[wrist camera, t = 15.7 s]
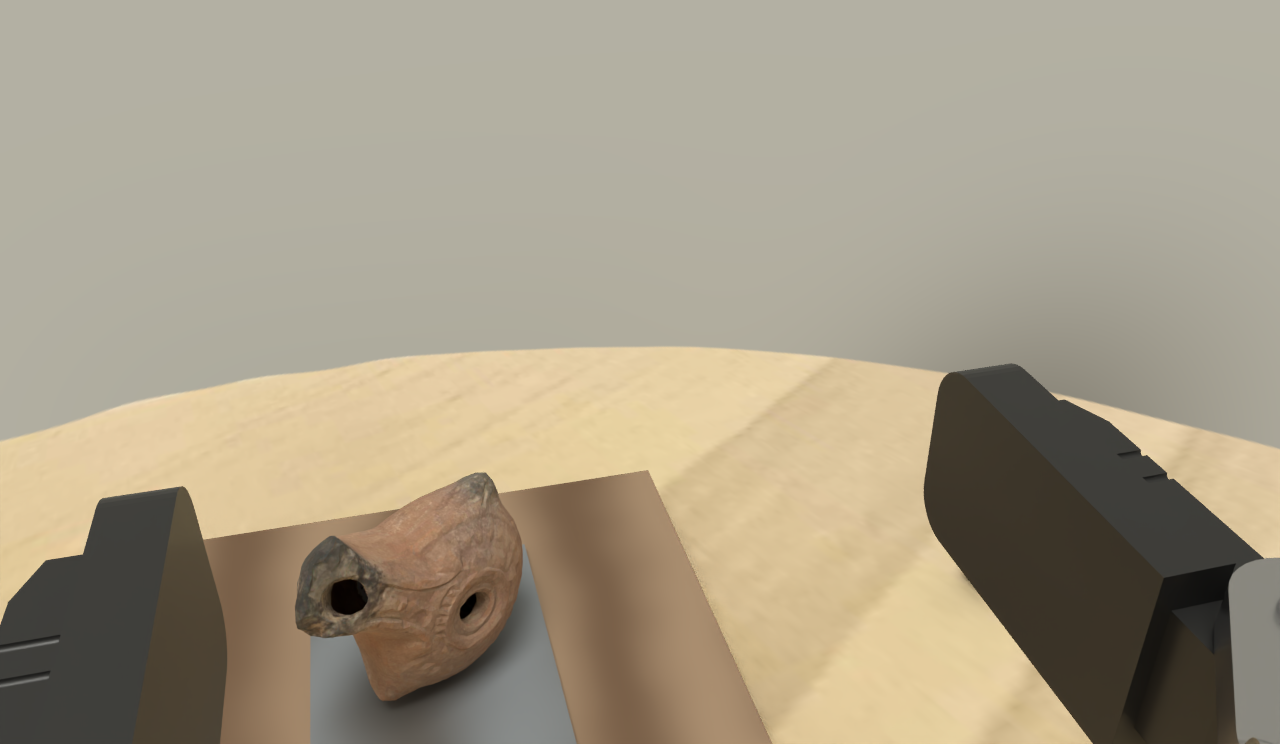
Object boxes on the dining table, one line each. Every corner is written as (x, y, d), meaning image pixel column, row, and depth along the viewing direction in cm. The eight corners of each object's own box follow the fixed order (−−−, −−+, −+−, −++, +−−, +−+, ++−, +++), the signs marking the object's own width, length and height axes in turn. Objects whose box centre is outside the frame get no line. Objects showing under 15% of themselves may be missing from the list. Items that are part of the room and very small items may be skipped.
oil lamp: (375, 808, 32) (334, 601, 28) (279, 749, 34) (229, 547, 30) (555, 623, 38) (543, 434, 34) (466, 583, 40) (445, 399, 36)
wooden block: (648, 525, 48) (648, 462, 47) (775, 827, 35) (782, 755, 33) (171, 605, 44) (151, 539, 42) (109, 984, 31) (78, 910, 29)
